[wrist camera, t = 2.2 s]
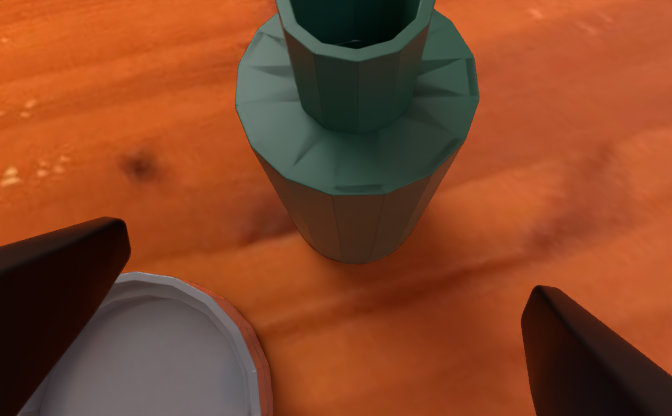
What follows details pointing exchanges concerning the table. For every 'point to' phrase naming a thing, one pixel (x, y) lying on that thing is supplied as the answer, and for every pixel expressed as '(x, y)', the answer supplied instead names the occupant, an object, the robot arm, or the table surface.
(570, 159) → the table surface
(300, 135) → the ink bottle
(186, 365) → the dish
